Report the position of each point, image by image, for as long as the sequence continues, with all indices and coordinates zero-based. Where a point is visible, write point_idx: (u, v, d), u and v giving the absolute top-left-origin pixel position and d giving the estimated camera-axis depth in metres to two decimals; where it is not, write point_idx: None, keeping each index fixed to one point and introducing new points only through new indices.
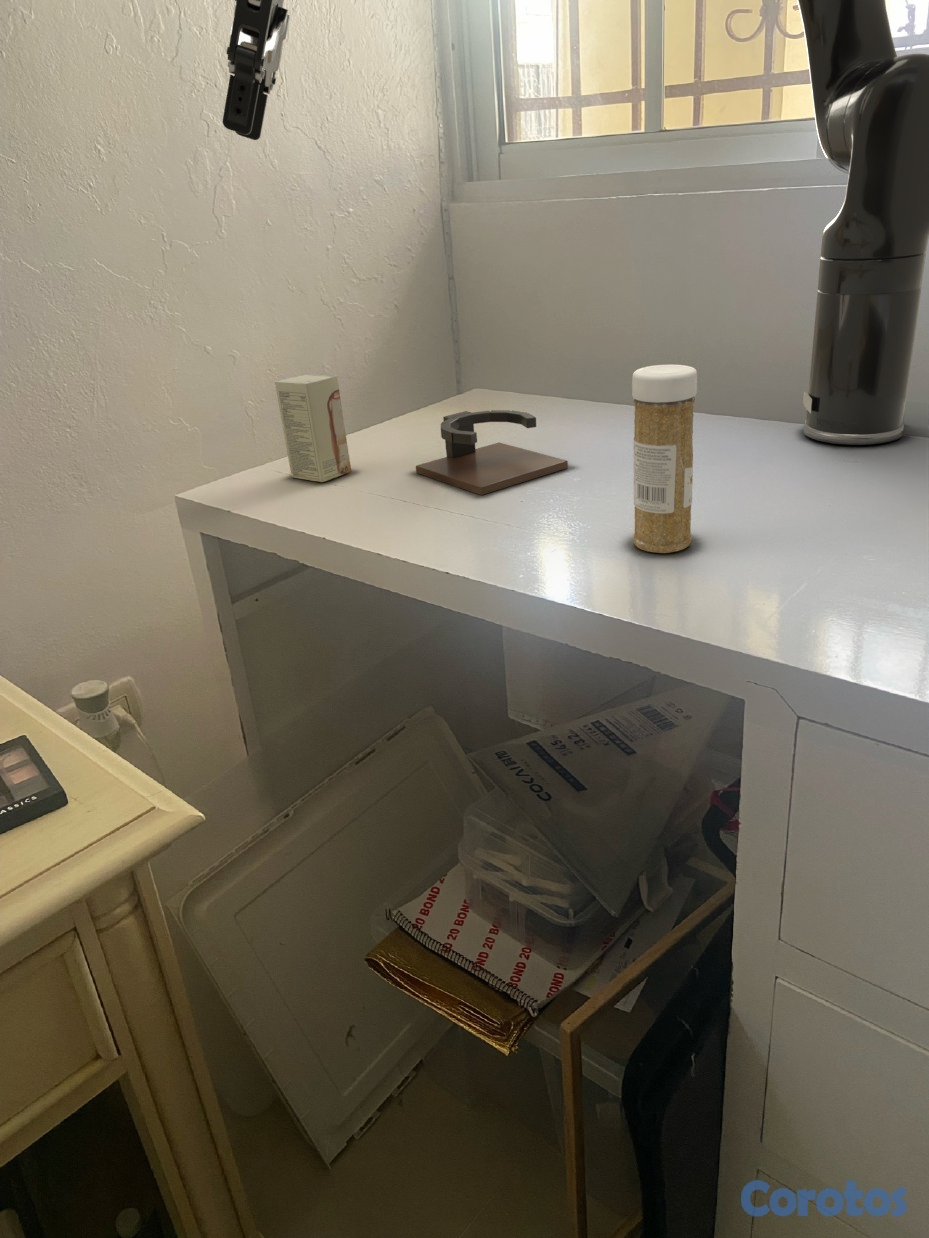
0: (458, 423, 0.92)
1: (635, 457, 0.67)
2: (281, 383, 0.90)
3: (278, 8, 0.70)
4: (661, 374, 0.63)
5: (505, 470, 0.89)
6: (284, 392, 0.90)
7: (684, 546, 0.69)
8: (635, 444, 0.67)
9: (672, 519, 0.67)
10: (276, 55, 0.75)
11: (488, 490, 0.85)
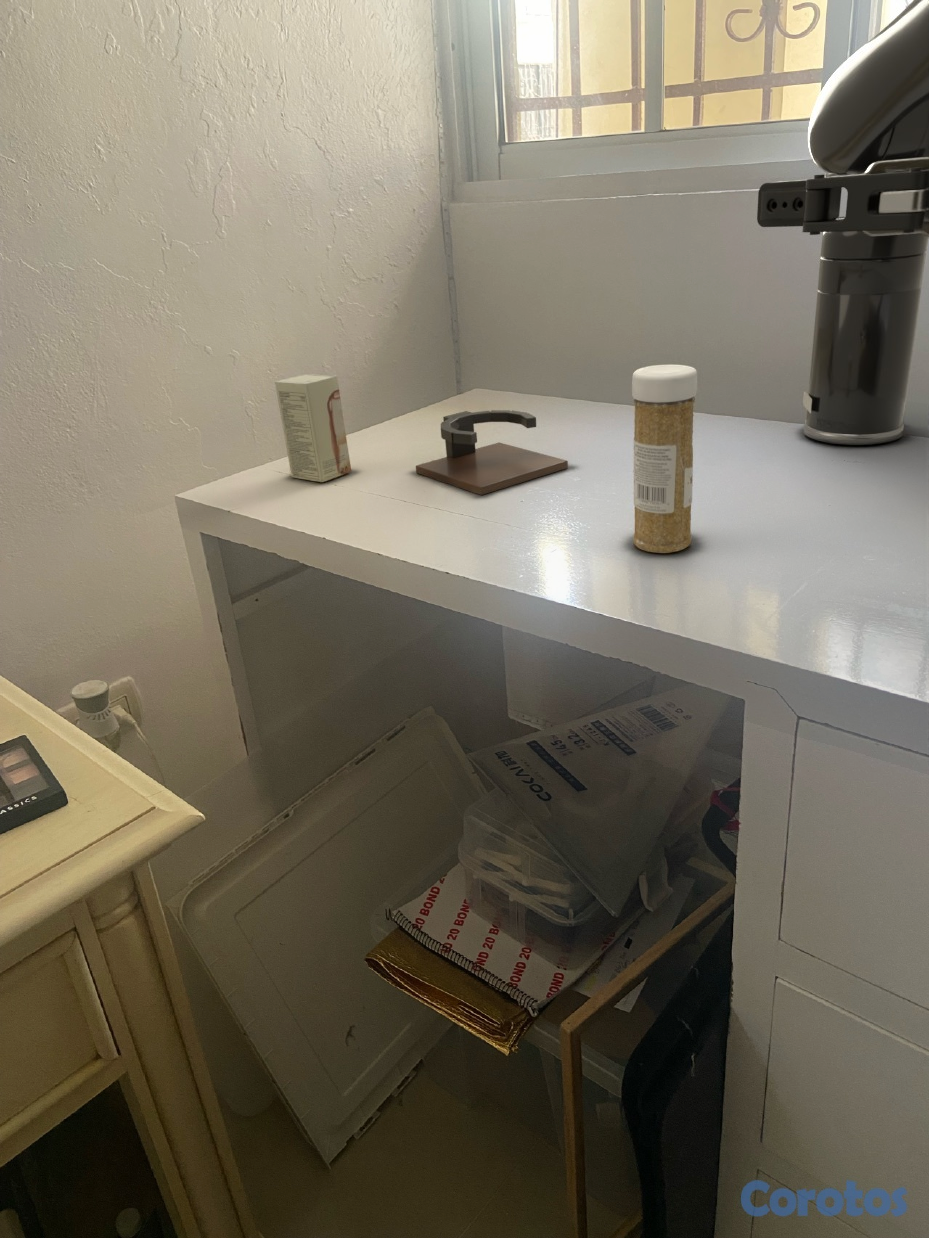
0: (458, 423, 0.92)
1: (635, 457, 0.67)
2: (281, 383, 0.90)
3: None
4: (661, 374, 0.63)
5: (505, 470, 0.89)
6: (283, 392, 0.90)
7: (684, 546, 0.69)
8: (635, 444, 0.67)
9: (672, 519, 0.67)
10: None
11: (488, 490, 0.85)
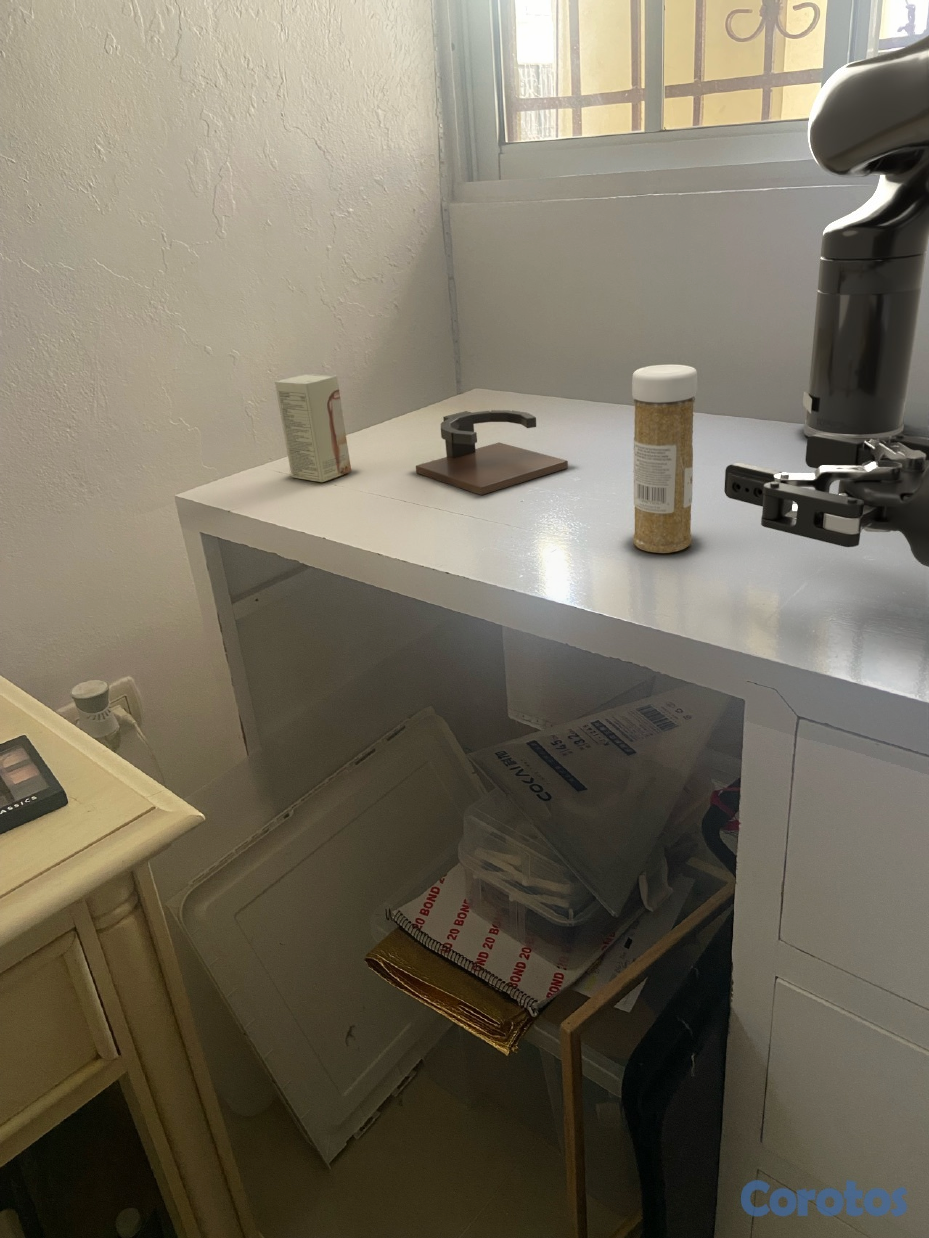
0: (458, 423, 0.92)
1: (635, 457, 0.67)
2: (281, 383, 0.90)
3: None
4: (661, 374, 0.63)
5: (505, 470, 0.89)
6: (283, 392, 0.90)
7: (684, 546, 0.69)
8: (635, 444, 0.67)
9: (672, 519, 0.67)
10: None
11: (488, 490, 0.85)
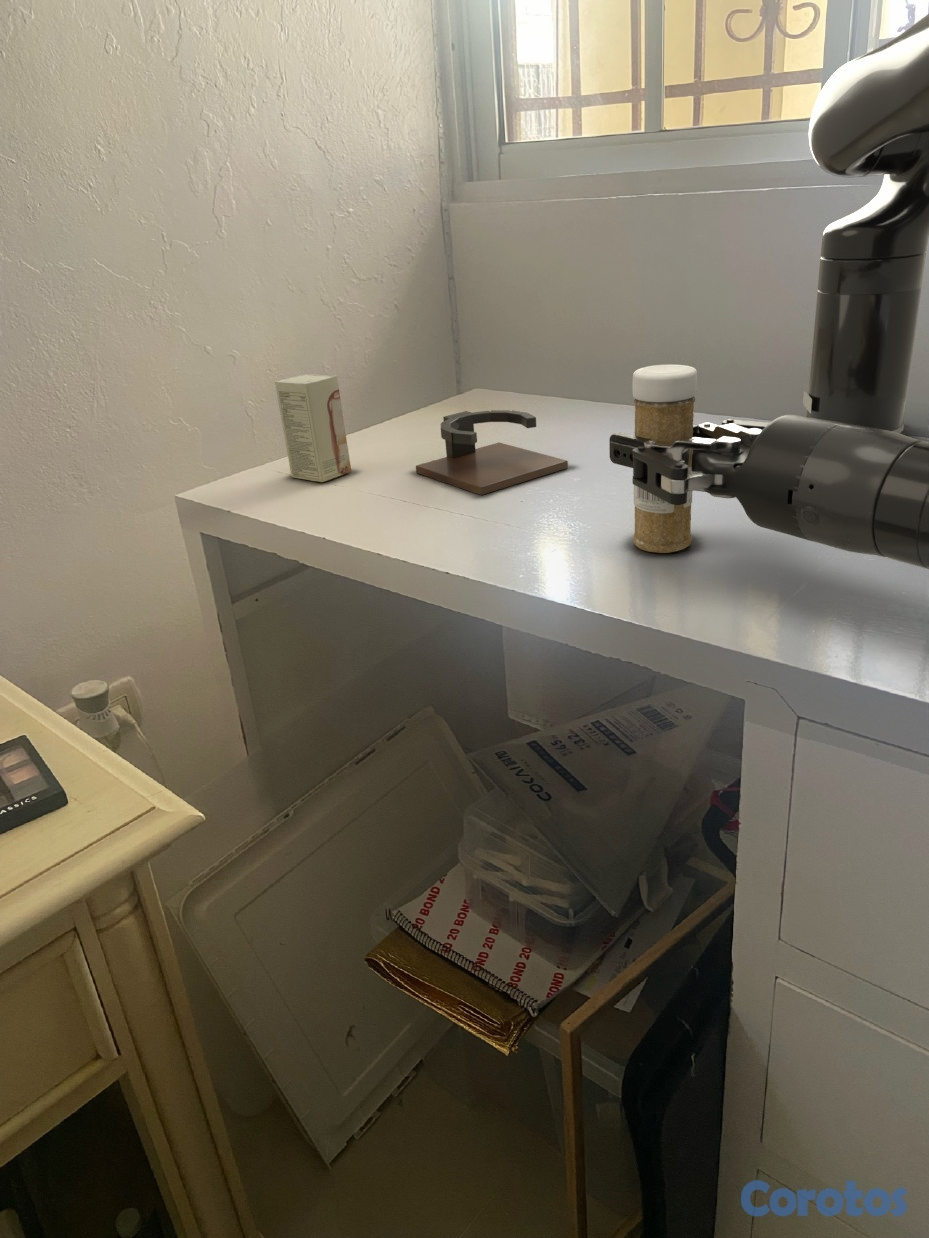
0: (458, 423, 0.92)
1: None
2: (281, 383, 0.90)
3: None
4: (662, 374, 0.63)
5: (505, 470, 0.89)
6: (283, 392, 0.90)
7: (684, 546, 0.69)
8: None
9: (672, 519, 0.67)
10: None
11: (488, 490, 0.85)
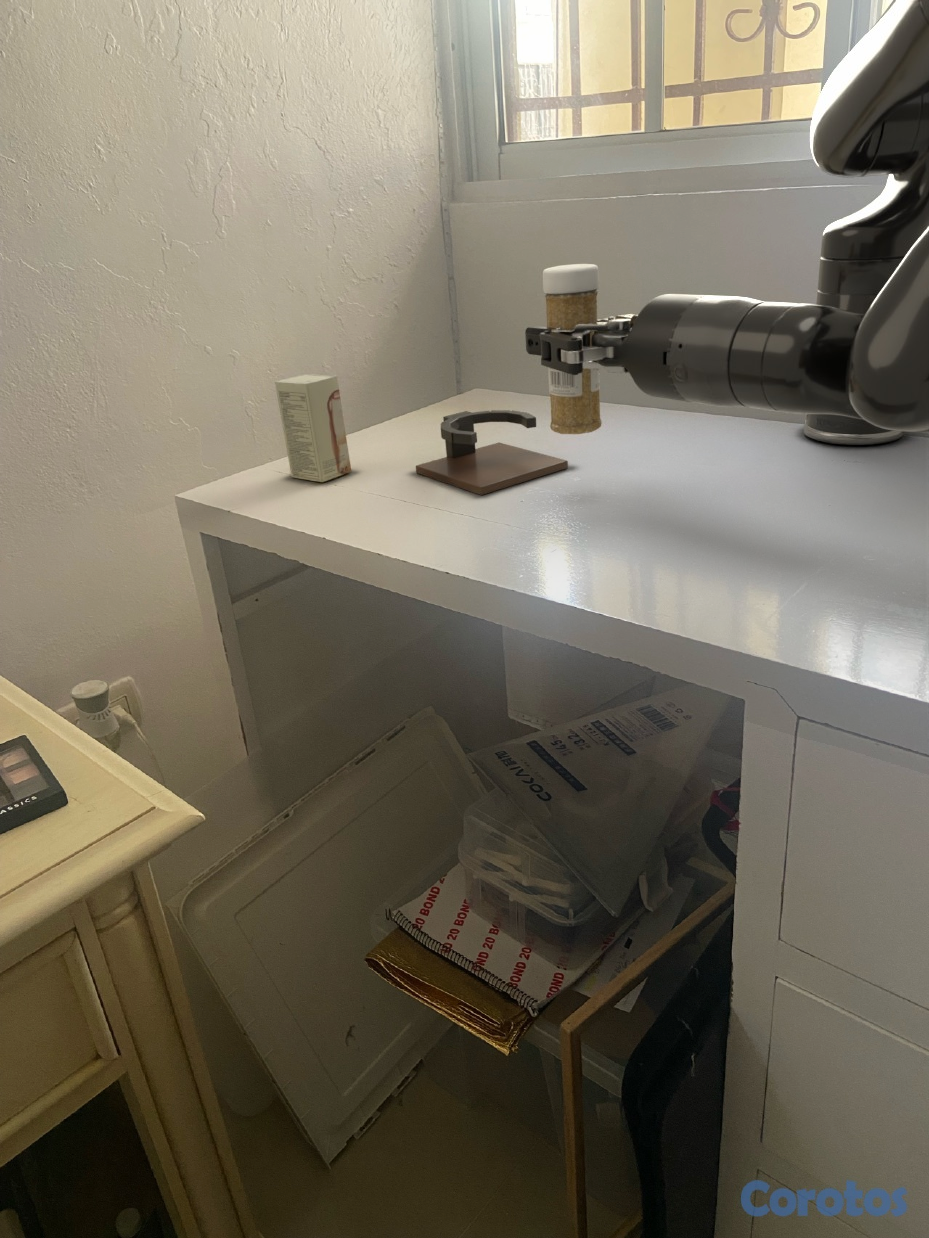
0: (458, 423, 0.92)
1: None
2: (281, 383, 0.90)
3: None
4: (565, 268, 0.72)
5: (505, 470, 0.89)
6: (283, 392, 0.90)
7: (593, 428, 0.78)
8: None
9: (581, 402, 0.76)
10: None
11: (488, 490, 0.85)
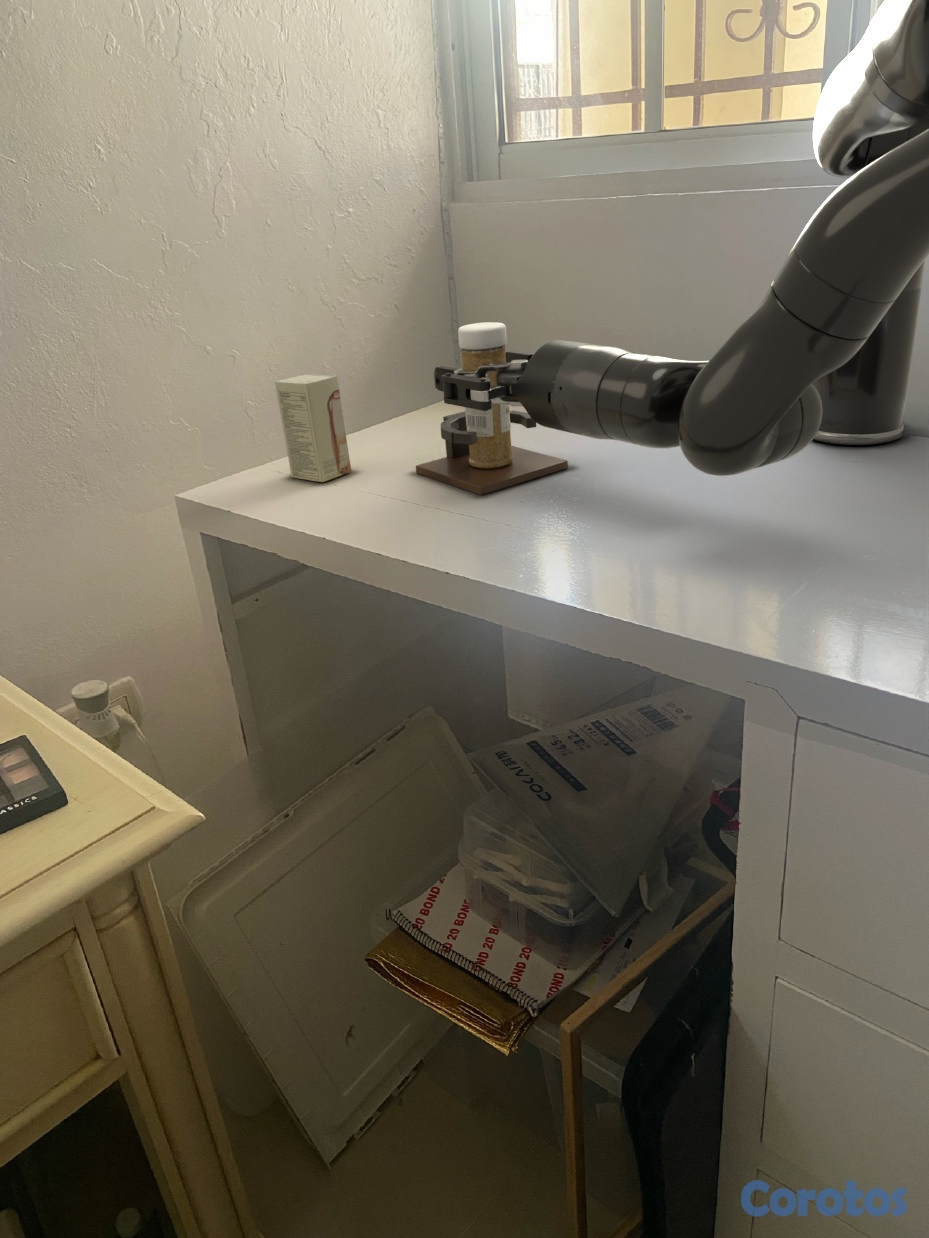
0: (458, 423, 0.92)
1: None
2: (281, 383, 0.90)
3: None
4: (476, 328, 0.84)
5: (505, 470, 0.89)
6: (284, 392, 0.90)
7: (504, 463, 0.89)
8: None
9: (493, 441, 0.88)
10: None
11: (488, 490, 0.85)
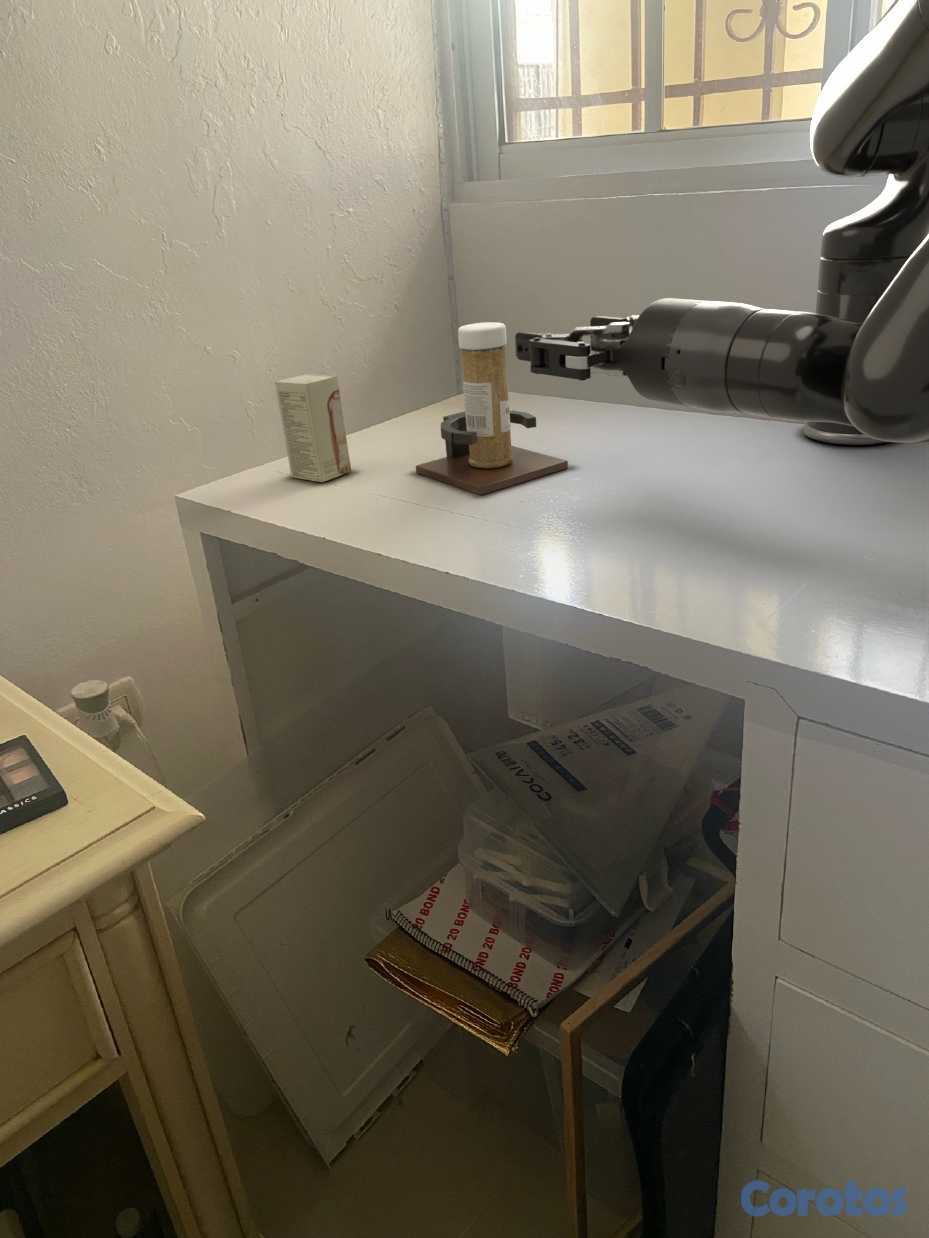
0: (458, 423, 0.92)
1: (464, 393, 0.88)
2: (281, 383, 0.90)
3: None
4: (476, 328, 0.84)
5: (505, 470, 0.89)
6: (284, 392, 0.90)
7: (504, 463, 0.89)
8: (463, 383, 0.87)
9: (493, 441, 0.88)
10: None
11: (488, 490, 0.85)
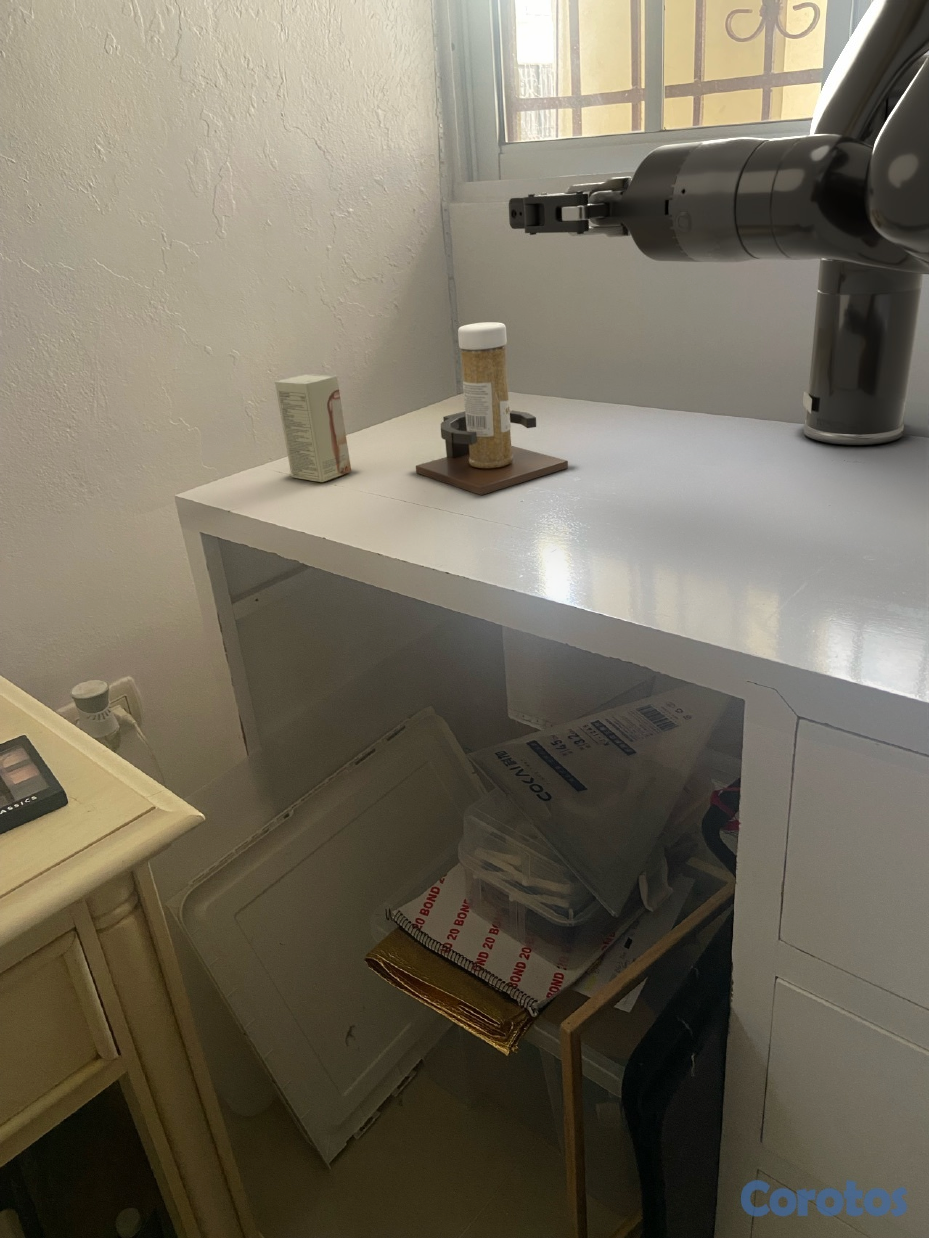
0: (458, 423, 0.92)
1: (464, 393, 0.88)
2: (281, 383, 0.90)
3: None
4: (476, 328, 0.84)
5: (505, 470, 0.89)
6: (283, 392, 0.90)
7: (504, 463, 0.89)
8: (463, 383, 0.87)
9: (493, 441, 0.88)
10: None
11: (488, 490, 0.85)
